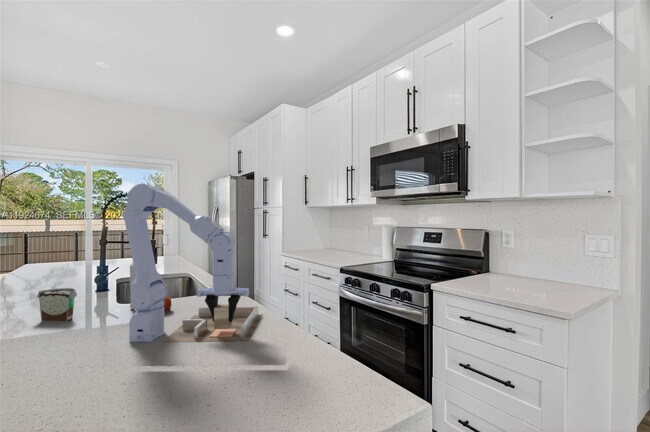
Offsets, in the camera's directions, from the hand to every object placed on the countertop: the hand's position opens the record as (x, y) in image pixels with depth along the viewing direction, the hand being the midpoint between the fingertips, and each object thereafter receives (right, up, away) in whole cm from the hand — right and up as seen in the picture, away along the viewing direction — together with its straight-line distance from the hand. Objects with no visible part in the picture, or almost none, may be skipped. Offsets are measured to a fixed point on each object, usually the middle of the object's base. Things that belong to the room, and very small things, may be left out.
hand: (223, 320), depth 96 cm
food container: (-60, -5, +17) cm, 63 cm away
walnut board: (-3, -5, +6) cm, 8 cm away
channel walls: (-3, -4, +6) cm, 8 cm away
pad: (0, -4, 0) cm, 4 cm away
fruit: (-29, -5, +21) cm, 37 cm away
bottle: (-42, -5, +29) cm, 51 cm away
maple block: (0, -2, 0) cm, 2 cm away
